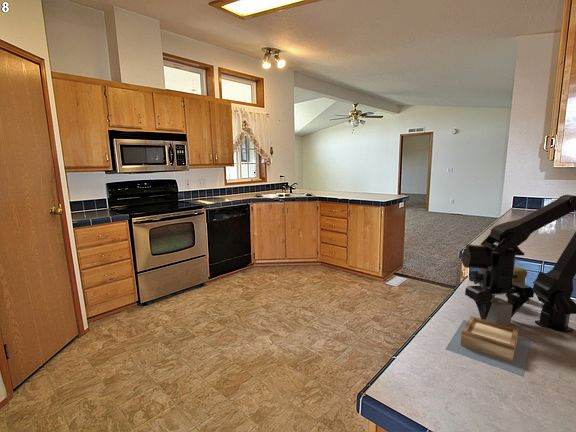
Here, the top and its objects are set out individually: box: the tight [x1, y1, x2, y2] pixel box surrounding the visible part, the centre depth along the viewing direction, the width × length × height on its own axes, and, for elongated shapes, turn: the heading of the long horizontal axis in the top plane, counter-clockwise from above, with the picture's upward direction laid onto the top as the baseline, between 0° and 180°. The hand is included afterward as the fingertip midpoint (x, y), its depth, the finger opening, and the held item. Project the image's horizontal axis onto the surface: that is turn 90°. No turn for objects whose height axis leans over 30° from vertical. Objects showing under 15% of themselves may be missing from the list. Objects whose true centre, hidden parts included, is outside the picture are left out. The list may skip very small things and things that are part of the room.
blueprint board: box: [445, 319, 531, 377], centre depth 82 cm, size 20×16×1 cm
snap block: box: [486, 297, 513, 326], centre depth 93 cm, size 5×5×8 cm
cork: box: [504, 266, 528, 298], centre depth 112 cm, size 6×6×11 cm
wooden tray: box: [460, 316, 519, 362], centre depth 81 cm, size 11×11×4 cm
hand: (496, 318), depth 93 cm, fingers open, 9 cm apart
